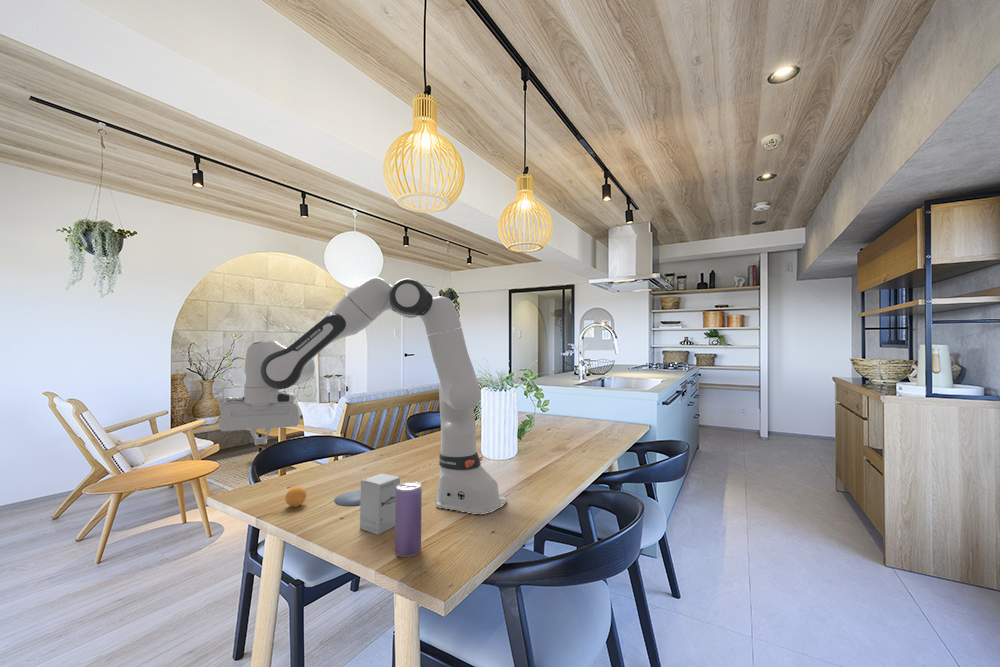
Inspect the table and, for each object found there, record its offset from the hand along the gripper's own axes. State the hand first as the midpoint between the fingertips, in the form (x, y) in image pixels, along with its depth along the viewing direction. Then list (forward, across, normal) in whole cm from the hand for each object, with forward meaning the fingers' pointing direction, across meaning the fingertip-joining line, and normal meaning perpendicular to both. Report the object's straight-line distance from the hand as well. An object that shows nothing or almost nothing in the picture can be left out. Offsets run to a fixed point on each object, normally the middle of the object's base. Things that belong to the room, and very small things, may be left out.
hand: (260, 444), depth 117 cm
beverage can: (+19, +36, -40) cm, 57 cm away
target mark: (+19, +27, 0) cm, 33 cm away
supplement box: (+19, +31, -24) cm, 44 cm away
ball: (+16, +10, 0) cm, 19 cm away
